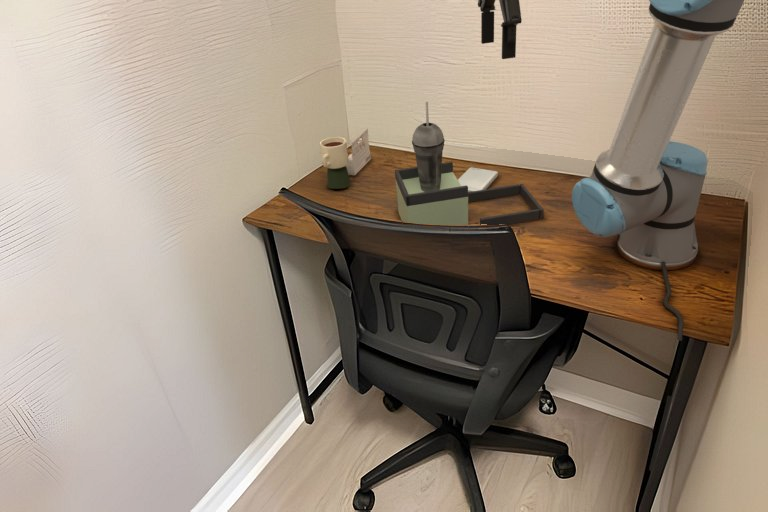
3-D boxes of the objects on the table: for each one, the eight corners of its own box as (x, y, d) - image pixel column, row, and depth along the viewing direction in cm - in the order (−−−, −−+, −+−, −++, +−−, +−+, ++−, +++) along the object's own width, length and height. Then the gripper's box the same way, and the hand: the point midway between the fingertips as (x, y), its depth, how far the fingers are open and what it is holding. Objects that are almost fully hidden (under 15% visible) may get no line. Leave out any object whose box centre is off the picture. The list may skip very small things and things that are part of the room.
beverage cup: (413, 195, 134) (407, 110, 123) (415, 180, 140) (410, 98, 129) (445, 194, 133) (443, 109, 122) (446, 180, 139) (444, 97, 128)
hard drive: (469, 166, 161) (450, 186, 152) (498, 171, 157) (479, 191, 149) (469, 172, 162) (450, 192, 153) (498, 177, 158) (479, 197, 150)
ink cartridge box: (347, 175, 167) (343, 143, 162) (364, 159, 175) (360, 127, 170) (355, 176, 166) (351, 143, 161) (371, 159, 174) (368, 128, 169)
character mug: (338, 176, 167) (332, 132, 160) (360, 179, 164) (354, 135, 157) (317, 193, 159) (310, 148, 152) (340, 197, 156) (333, 151, 149)
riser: (543, 219, 138) (546, 174, 132) (409, 240, 136) (405, 196, 129) (522, 192, 150) (524, 150, 144) (398, 211, 147) (394, 169, 141)
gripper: (462, -64, 126) (464, 39, 138) (502, -52, 106) (500, 67, 117) (496, -68, 127) (495, 34, 139) (542, -57, 106) (536, 62, 118)
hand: (497, 50), depth 128 cm, fingers open, 13 cm apart
